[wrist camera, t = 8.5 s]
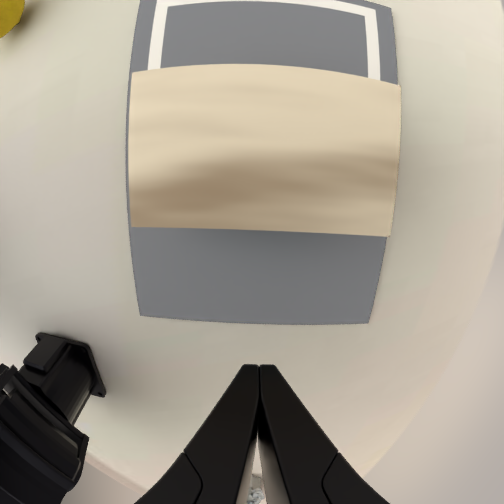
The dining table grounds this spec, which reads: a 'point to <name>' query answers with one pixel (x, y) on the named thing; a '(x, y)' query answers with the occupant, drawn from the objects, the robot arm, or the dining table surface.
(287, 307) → the mat
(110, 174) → the dining table surface
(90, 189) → the dining table surface
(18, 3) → the lemon
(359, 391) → the dining table surface
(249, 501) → the egg carton
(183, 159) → the block
